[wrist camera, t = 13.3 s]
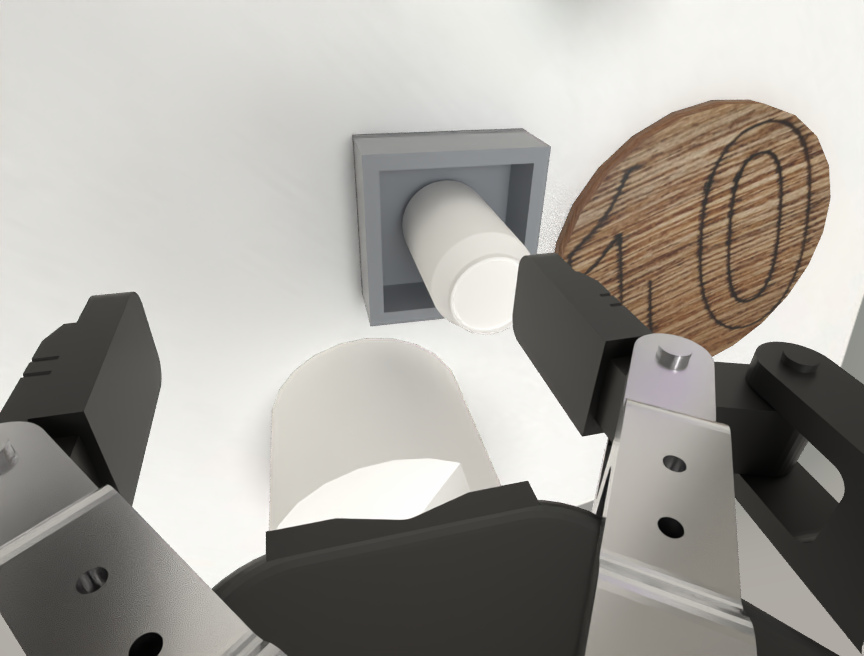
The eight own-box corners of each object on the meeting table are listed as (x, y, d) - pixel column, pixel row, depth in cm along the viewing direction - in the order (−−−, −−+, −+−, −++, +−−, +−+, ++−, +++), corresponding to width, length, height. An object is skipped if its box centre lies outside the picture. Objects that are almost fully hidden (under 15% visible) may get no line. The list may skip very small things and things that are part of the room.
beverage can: (398, 178, 37) (440, 250, 28) (484, 173, 39) (553, 241, 29) (399, 260, 41) (436, 350, 31) (479, 253, 42) (538, 338, 32)
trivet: (579, 400, 55) (587, 413, 54) (516, 180, 41) (525, 188, 39) (805, 300, 55) (820, 309, 53) (822, 42, 41) (844, 44, 39)
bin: (362, 292, 43) (370, 326, 39) (352, 134, 36) (361, 154, 32) (506, 279, 45) (529, 309, 41) (522, 128, 39) (550, 146, 34)
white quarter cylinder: (495, 374, 50) (672, 706, 28) (403, 498, 57) (485, 852, 34) (324, 308, 43) (373, 694, 20) (240, 460, 49) (202, 886, 26)
